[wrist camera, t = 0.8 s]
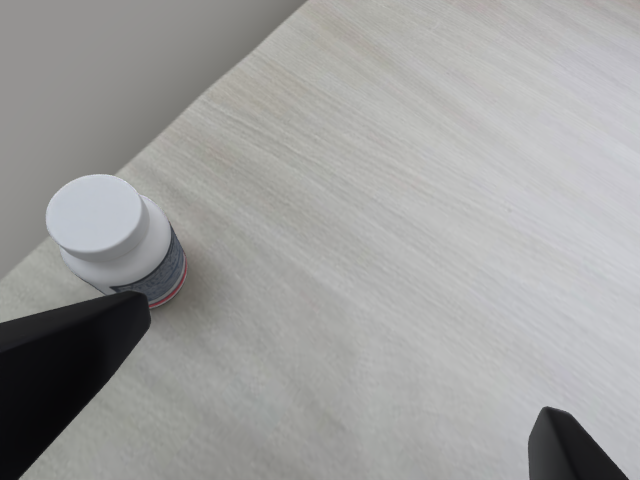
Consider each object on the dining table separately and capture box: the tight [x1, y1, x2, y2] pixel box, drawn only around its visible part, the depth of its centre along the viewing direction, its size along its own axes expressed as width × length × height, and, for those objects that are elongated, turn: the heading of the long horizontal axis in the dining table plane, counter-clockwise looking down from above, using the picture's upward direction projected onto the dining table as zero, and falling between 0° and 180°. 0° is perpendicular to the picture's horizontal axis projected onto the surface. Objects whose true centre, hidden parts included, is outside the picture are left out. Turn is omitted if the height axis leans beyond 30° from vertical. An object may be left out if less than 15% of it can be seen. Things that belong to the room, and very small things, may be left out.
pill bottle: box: [46, 174, 188, 308], centre depth 21 cm, size 5×5×9 cm
